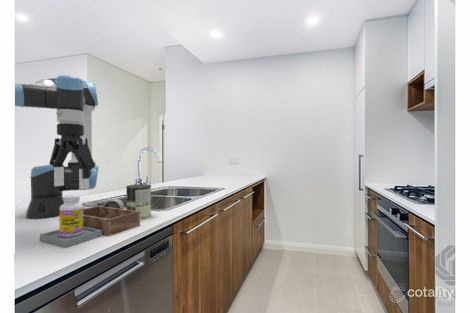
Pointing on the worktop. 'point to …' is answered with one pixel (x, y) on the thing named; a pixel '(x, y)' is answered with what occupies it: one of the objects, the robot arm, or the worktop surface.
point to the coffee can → (139, 199)
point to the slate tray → (70, 241)
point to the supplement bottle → (71, 217)
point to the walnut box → (110, 219)
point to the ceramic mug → (114, 204)
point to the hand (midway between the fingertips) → (71, 187)
